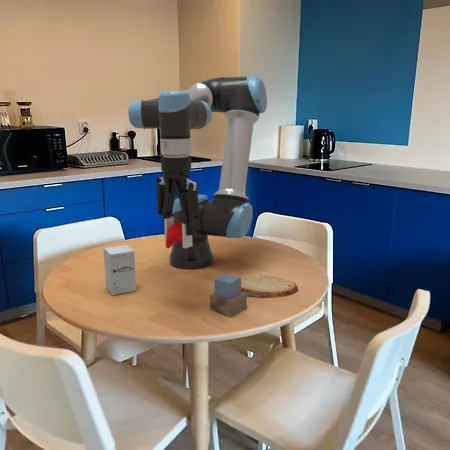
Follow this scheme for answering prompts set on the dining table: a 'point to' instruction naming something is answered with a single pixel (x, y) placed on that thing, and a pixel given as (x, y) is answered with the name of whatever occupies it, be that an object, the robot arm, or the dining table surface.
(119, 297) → the dining table surface
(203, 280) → the dining table surface
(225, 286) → the tower top
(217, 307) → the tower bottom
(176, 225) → the cap
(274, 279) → the slice of bread
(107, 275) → the supplement box
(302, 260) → the dining table surface
